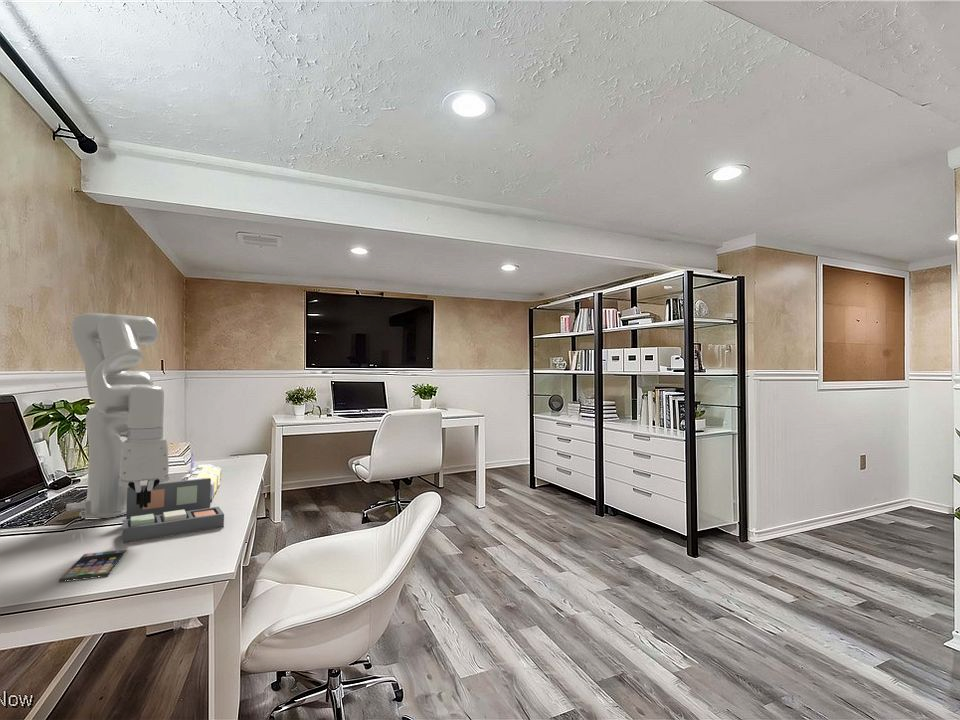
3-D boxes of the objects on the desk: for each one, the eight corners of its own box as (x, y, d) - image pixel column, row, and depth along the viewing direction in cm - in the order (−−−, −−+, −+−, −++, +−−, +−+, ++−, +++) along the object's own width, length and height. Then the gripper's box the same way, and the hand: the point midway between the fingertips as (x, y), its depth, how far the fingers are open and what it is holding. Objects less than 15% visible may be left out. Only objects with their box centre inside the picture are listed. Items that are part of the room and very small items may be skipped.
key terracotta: (195, 526, 129) (196, 517, 129) (193, 521, 132) (193, 512, 132) (216, 523, 132) (216, 514, 132) (213, 518, 135) (213, 509, 135)
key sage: (131, 531, 120) (131, 521, 120) (130, 526, 124) (130, 516, 124) (154, 528, 123) (154, 518, 123) (152, 523, 127) (153, 513, 127)
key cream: (164, 526, 124) (164, 517, 124) (162, 521, 128) (163, 512, 128) (186, 523, 127) (186, 513, 127) (184, 518, 131) (184, 509, 131)
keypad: (122, 543, 118) (124, 502, 118) (121, 522, 133) (122, 486, 133) (223, 526, 131) (224, 490, 131) (212, 509, 146) (213, 476, 146)
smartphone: (126, 552, 114) (126, 547, 114) (108, 578, 100) (108, 572, 100) (84, 557, 110) (84, 551, 110) (58, 584, 97) (59, 578, 97)
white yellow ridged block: (188, 487, 172) (189, 450, 172) (220, 485, 176) (222, 449, 176) (173, 507, 148) (175, 464, 149) (212, 504, 152) (213, 462, 153)
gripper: (108, 438, 116) (106, 515, 116) (181, 434, 125) (179, 505, 125) (108, 434, 122) (106, 507, 122) (178, 430, 131) (176, 498, 131)
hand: (143, 506), depth 123 cm, fingers closed
